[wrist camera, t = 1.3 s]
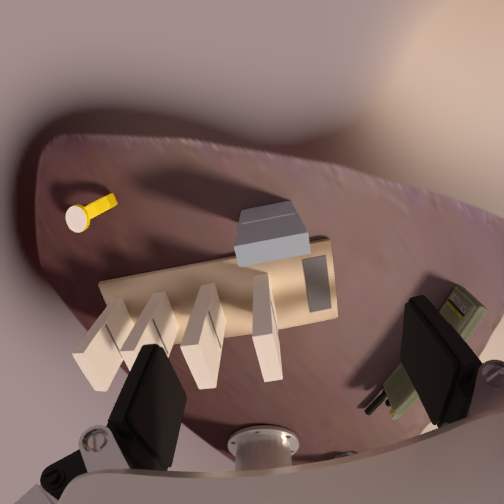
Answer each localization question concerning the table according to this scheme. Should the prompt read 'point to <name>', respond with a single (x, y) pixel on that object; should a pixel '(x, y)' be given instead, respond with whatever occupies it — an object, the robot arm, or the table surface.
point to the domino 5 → (266, 329)
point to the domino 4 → (270, 234)
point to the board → (238, 289)
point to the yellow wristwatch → (88, 212)
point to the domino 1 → (104, 345)
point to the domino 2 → (151, 328)
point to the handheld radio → (398, 383)
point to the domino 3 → (204, 337)
